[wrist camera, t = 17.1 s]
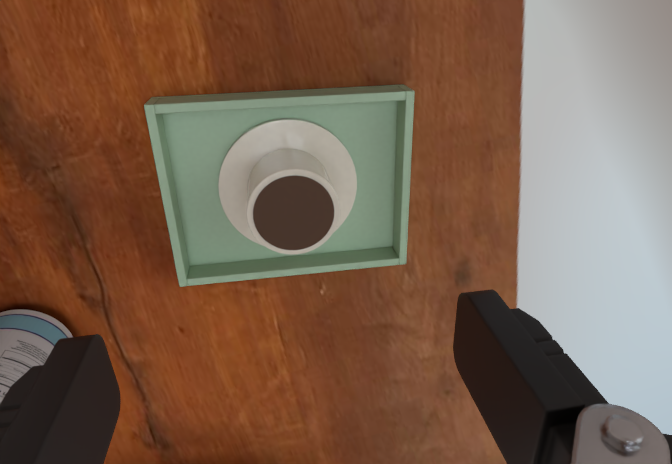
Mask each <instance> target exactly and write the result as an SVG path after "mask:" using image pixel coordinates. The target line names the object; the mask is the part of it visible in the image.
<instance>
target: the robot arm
mask: <svg viewBox="0 0 672 464" xmlns="http://www.w3.org/2000/svg"><path fill="white" fill-rule="evenodd" d="M453 351H454V358H455V362H456V366H457V369H458V371H459V373H460V375H461V377H462V379H463V381H464V383H465V385H466V386H467V388H468V390H469V392H470V394H471V396H472V398H473V400H474V402H475V404H476V405H477V407H478V409H479V411H480V413H481V415H482V417H483V419H484V421H485V422H486V424H487V426H488V428H489V430H490V432H491V434H492V436H493V438H494V440H495V441H496V443H497V445H498V447H499V449H500V451H501V453H502V455H503V457H504V459H505V460H506V462H507V464H672V435H667V434H662V433H661V432H660V430H659V429H658V428H657V427H656V426H655V425H654V424H652V423H651V422H650V421H649V420H647V419H646V418H645V417H643V416H641V415H640V414H638V413H636V412H634V411H632V410H629V409H627V408H624V407H621V406H617V405H612V404H609V403H608V402H607V401H606V400H605V399H604V398H603V396H602V395H601V394H600V393H599V392H598V390H597V389H596V388H595V387H594V386H593V384H592V383H591V382H590V381H589V380H588V379H587V377H586V376H585V375H584V374H583V373H582V371H581V370H580V369H579V368H578V367H577V366H576V364H575V363H574V362H573V361H572V360H571V358H569V356H568V355H567V354H564V352H563V349H562V348H561V347H560V346H559V344H558V343H557V342H556V341H555V340H553V339H552V336H551V335H550V334H549V333H548V331H547V330H546V329H545V328H544V327H543V326H542V324H541V323H540V322H539V321H538V320H536V319H535V318H533V317H532V316H530V315H528V314H527V313H525V312H524V311H522V310H520V309H519V308H517V309H509V307H508V306H507V305H506V304H505V302H504V301H503V300H502V298H501V297H500V296H499V295H498V293H497V292H496V291H494V290H484V291H475V292H467V293H461V294H460V295H459V297H458V302H457V313H456V323H455V333H454V343H453ZM119 411H120V391H119V386H118V383H117V380H116V377H115V374H114V370H113V367H112V364H111V361H110V358H109V355H108V352H107V349H106V346H105V343H104V340H103V338H102V337H101V336H100V335H98V334H96V335H87V336H79V337H70V338H62V339H59V340H58V341H57V343H56V344H55V346H54V348H53V349H52V351H51V353H50V355H49V357H48V358H47V360H46V362H45V364H44V365H39V366H33V367H32V368H31V369H29V370H28V371H27V372H26V373H25V374H24V375H23V376H22V377H21V378H19V379H18V380H17V381H16V382H15V383H14V384H13V385H12V386H11V387H10V389H9V390H8V392H7V393H6V395H5V397H4V398H3V400H2V402H1V403H0V464H103V463H104V460H105V457H106V454H107V451H108V448H109V444H110V441H111V438H112V435H113V432H114V429H115V426H116V423H117V420H118V416H119Z"/></svg>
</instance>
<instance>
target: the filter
mask: <svg viewBox="0 0 672 464" xmlns="http://www.w3.org/2000/svg"><path fill="white" fill-rule="evenodd" d="M218 189H219V197H220V202H221V205H222V207H223V210H224V212H225V214H226V216H227V218H228V219H229V221H230V222H231V223H232V225H233V226H234V227H235V228H236V229H237V230H238V231H239V232H240V233H241V234H243V235H244V236H245V237H247V238H248V239H250V240H251V241H253V242H255V243H258V244H260V245H263V246H265V247H267V248H268V249H270V250H272V251H275V252H278V253H282V254H290V255H293V254H302V253H306V252H309V251H312V250H314V249H316V248H318V247H319V246H321V245H322V244H324V243H325V242H326V241H327V240H328V239H329V238H330V237H331V235H332V234H333V233H334V232H335V231H336V230H337V229H338V228H339V227H340V226H341V225H342V223H343V222H344V221H345V219H346V218H347V216H348V215H349V213H350V211H351V209H352V207H353V204H354V201H355V197H356V192H357V176H356V171H355V166H354V163H353V161H352V158H351V156H350V154H349V153H348V151H347V149H346V148H345V146H344V145H343V144H342V142H341V141H340V140H339V139H338V138H337V137H336V136H335V135H334V134H333V133H331V132H330V131H329V130H327V129H326V128H324V127H322V126H321V125H318V124H316V123H314V122H311V121H307V120H304V119H297V118H279V119H273V120H269V121H265V122H263V123H260V124H258V125H256V126H254V127H252V128H250V129H249V130H247V131H246V132H245V133H243V134H242V135H241V136H240V137H239V138H238V139H237V140H236V141H235V142H234V143H233V144H232V146H231V147H230V148H229V150H228V152H227V153H226V155H225V157H224V160H223V162H222V165H221V169H220V174H219V182H218Z"/></svg>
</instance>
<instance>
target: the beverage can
mask: <svg viewBox="0 0 672 464" xmlns="http://www.w3.org/2000/svg"><path fill="white" fill-rule="evenodd" d="M70 337H73V336H72V334H71V333H70V331H69V330H68V329H67V328H66V327H65V326H64V325H63V324H62V323H61V322H60V321H58V320H57V319H55V318H53V317H51V316H49V315H47V314H44V313H41V312H38V311H33V310H25V309H16V310H8V311H4V312H1V313H0V403H1V402H2V400H3V398H4V397H5V395H6V393H7V392H8V390H9V389H10V387H11V386H12V385H13V384H14V383H15V382H16V381H17V380H18V379H19V378H21V377H22V376H23V375H24V374H25V373H26V372H27V371H28V370H29V369H31V368H32V367H33V366H39V365H44V364H45V362H46V360H47V358H48V357H49V355H50V353H51V351H52V349H53V348H54V346H55V344H56V343H57V341H58V340H59V339H62V338H70Z"/></svg>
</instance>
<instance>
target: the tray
mask: <svg viewBox="0 0 672 464" xmlns="http://www.w3.org/2000/svg"><path fill="white" fill-rule="evenodd" d="M414 93H415V92H414V90H412V89H410V88H408V87H407V86H405V85H403V84H402V85H383V86H363V87H343V88H323V89H303V90H284V91H264V92H244V93H224V94H204V95H185V96H165V97H151V98H150V99H149V100H148V102H147V103H146V104H145V105H144V109H145V114H146V119H147V124H148V130H149V135H150V140H151V145H152V150H153V155H154V160H155V165H156V170H157V175H158V180H159V185H160V190H161V195H162V201H163V206H164V211H165V216H166V221H167V226H168V231H169V236H170V241H171V246H172V251H173V256H174V261H175V266H176V272H177V277H178V282H179V286H180V287H182V286H192V285H202V284H212V283H222V282H232V281H242V280H251V279H261V278H271V277H281V276H291V275H301V274H311V273H321V272H331V271H341V270H351V269H361V268H371V267H381V266H391V265H398V264H399V265H401V264H406V256H407V236H408V215H409V195H410V174H411V154H412V133H413V113H414ZM279 118H297V119H304V120H307V121H311V122H314V123H316V124H318V125H321V126H322V127H324V128H326V129H327V130H329V131H330V132H331V133H333V134H334V135H335V136H336V137H337V138H338V139H339V140H340V141H341V142H342V144H343V145H344V146H345V148H346V149H347V151H348V153H349V154H350V156H351V158H352V161H353V163H354V166H355V171H356V176H357V192H356V197H355V201H354V204H353V207H352V209H351V211H350V213H349V215H348V216H347V218H346V219H345V221H344V222H343V223H342V225H341V226H340V227H339V228H338V229H337V230H336V231H335V232H334V233H333V234H332V235H331V237H330V238H329V239H328V240H327V241H326V242H325V243H324V244H322V245H321V246H319V247H318V248H316V249H314V250H312V251H309V252H306V253H302V254H293V255H290V254H282V253H278V252H275V251H272V250H270V249H268V248H267V247H265V246H263V245H260V244H258V243H255V242H253V241H251V240H250V239H248V238H247V237H245V236H244V235H243V234H241V233H240V232H239V231H238V230H237V229H236V228H235V227H234V226H233V225H232V223H231V222H230V221H229V219H228V218H227V216H226V214H225V212H224V210H223V207H222V205H221V202H220V197H219V189H218V182H219V174H220V169H221V165H222V162H223V160H224V157H225V155H226V153H227V152H228V150H229V148H230V147H231V146H232V144H233V143H234V142H235V141H236V140H237V139H238V138H239V137H240V136H241V135H242V134H243V133H245V132H246V131H247V130H249V129H250V128H252V127H254V126H256V125H258V124H260V123H263V122H265V121H269V120H273V119H279Z"/></svg>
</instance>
